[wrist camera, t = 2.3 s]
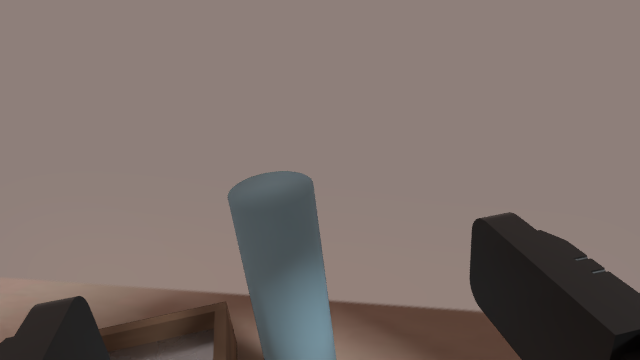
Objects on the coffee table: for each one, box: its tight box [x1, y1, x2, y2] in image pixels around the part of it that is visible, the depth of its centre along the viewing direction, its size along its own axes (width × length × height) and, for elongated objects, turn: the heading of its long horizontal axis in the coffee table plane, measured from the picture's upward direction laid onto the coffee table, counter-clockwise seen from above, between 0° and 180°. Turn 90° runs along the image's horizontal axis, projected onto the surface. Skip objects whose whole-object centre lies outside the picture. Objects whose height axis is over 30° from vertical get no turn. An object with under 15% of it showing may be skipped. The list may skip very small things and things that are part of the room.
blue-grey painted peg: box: [228, 171, 336, 360], centre depth 23 cm, size 4×4×16 cm
